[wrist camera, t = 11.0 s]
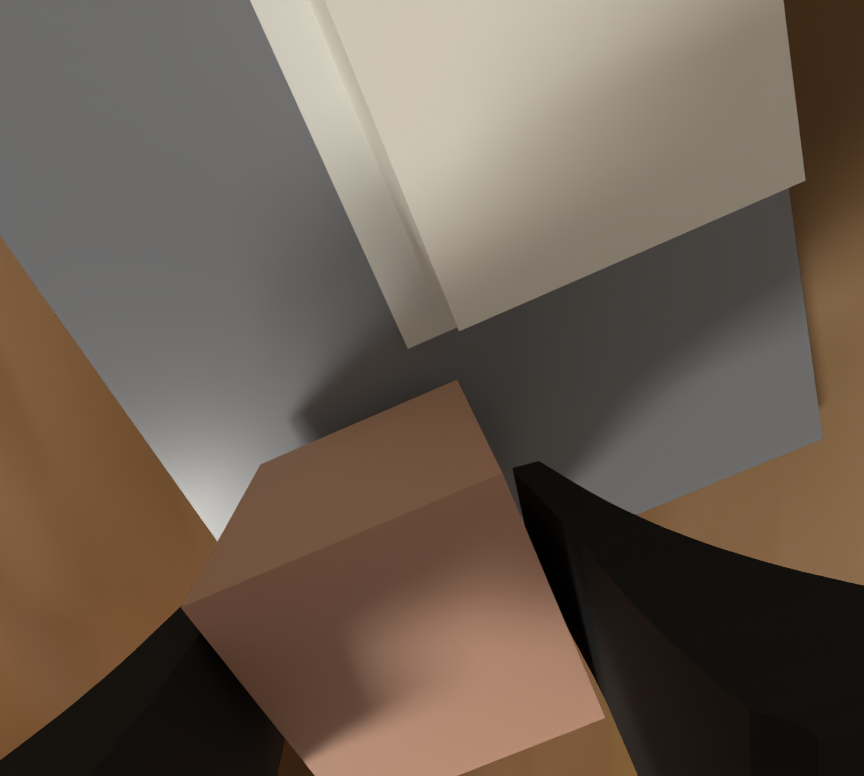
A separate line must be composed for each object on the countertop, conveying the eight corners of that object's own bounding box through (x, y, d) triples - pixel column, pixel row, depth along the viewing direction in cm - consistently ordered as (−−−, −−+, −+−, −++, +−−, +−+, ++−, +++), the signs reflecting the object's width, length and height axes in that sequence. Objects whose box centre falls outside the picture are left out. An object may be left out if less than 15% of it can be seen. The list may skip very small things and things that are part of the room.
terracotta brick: (361, 625, 12) (349, 818, 8) (260, 464, 10) (180, 607, 6) (531, 555, 12) (605, 717, 8) (456, 379, 10) (502, 472, 6)
